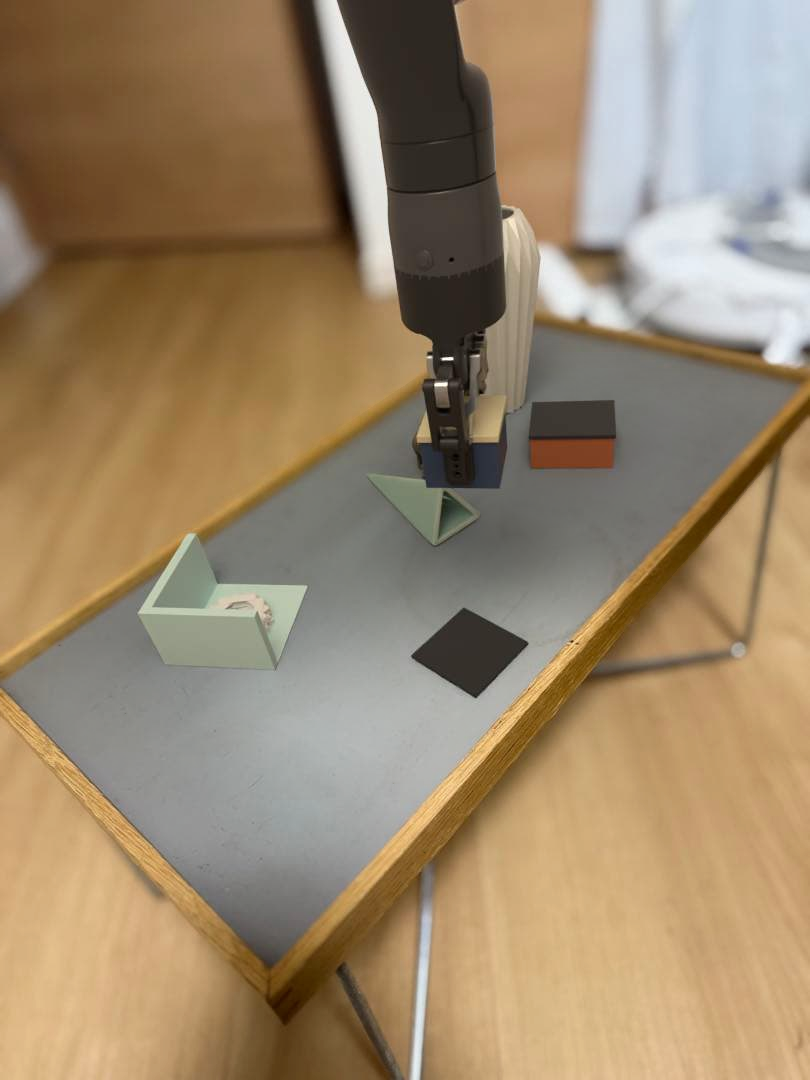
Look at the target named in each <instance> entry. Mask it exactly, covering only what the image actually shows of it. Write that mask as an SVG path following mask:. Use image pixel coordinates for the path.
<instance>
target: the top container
mask: <svg viewBox="0 0 810 1080" xmlns="http://www.w3.org/2000/svg"><path fill="white" fill-rule="evenodd" d="M469 398H470V396H463V399H464V403H466V402H467V401H468V400H469ZM506 403H507V395H485V396H479V409H478V411H477V412H476V413H474V414H473V416H472V434H473V435H474V440H473V441H472V447H473V458H474V470H475V478H474V482H473V483H472V484H471V485H450V484H448V483H447V481H446V476H445V468H444V459H443V452H441V451H440V452H434V451H433V447H432V445H431V435H430V429H429V423H428V416H427V410H426V409H425V412H424V415H423V417H422V420H421V423H420V426H419V429H418V430H417V432H418V434H417V443H420V448H421V455H422V462H423V469H424V476H425V478H424V480H425V483H426V488H450V489H480V490H481V489H482V490H483V489H484V490H485V489H486V490H488V489H489V490H498V489H501V484H502V479H503V473H504V467H505V462H506V458H507V452H508V435H507V434H508V433H507V417H506V416H507V414H506V412H505V408H506ZM447 430H457V429H456V428H455V427H447Z"/></svg>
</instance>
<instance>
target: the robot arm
mask: <svg viewBox="0 0 810 1080" xmlns="http://www.w3.org/2000/svg"><path fill="white" fill-rule="evenodd" d="M465 1H466V0H336V3H337V6H338V10H339V12H340V15H341V18H342V21H343V24H344V27H345V30H346V33H347V36H348V39H349V42H350V46H351V48H352V51H353V53H354V56H355V59H356V62H357V64H358V68H359V70H360V74H361V77H362V79H363V82H364V85H365V87H366V89H367V91H368V93H369V96H370V99H371V101H372V104H373V106H374V109H375V113H376V118H377V128H378V137H379V142H380V148H381V156H382V164H383V170H384V178H385V185H386V197H387V226H388V227H387V228H388V237H389V241H390V249H391V255H392V262H393V263H392V264H393V270H394V277H395V278H394V279H395V284H396V291H397V297H398V305H399V311H400V318H401V322H402V324H403V325H404V327H405V328H406V329H407V330H409V331H410V332H411V333H414V334H416V335H421V336H424V337H425V338H427V339H428V340H430V341H431V343H432V346H431V350H427V351H426V373H427V374H428V375H429V378H424V379H423V383H422V385H421V391H422V392H423V398H424V403H425V411H426V410H427V416H428V423H429V429H430V435H431V445H432V447H433V451H434V452H440V451H441V452H443V459H444V468H445V476H446V481H447V483H448V484H450V485H471V484H472V483H473V482H474V478H475V470H474V458H473V447H472V441H473V440H474V435H473V434H472V416H473V414H474V413H476V412H477V411H478V409H479V396H480V394H485V390H486V383H485V379H486V378H487V373H488V372H489V367H488V362H487V338H486V330H485V329H486V328H488V327H490V326H492V325H493V324H495V323H496V322H497V321H499V320H500V319H501V317H502V316H503V315H504V313H505V310H506V286H505V264H504V243H503V219H502V201H501V195H500V189H499V183H498V178H497V177H498V175H497V157H496V156H497V155H496V137H495V123H494V122H495V118H494V117H495V116H494V106H493V97H492V90H491V85H490V81H489V78H488V76H487V74H486V72H485V71H484V70H483V69H482V68H481V67H480V66H478V65H476V64H475V63H472V62H469V61H467V60H466V59H465V58H466V57H465V55H464V49H463V45H462V40H461V34H460V29H459V24H458V19H457V13H456V7H455V6H457V5H459V4H461V3H463V2H465ZM463 396H470V398H469V400H468V401H467V402H466V403H464V399H463ZM482 396H483V395H482ZM447 427H455V428H456V429H457V430H447Z"/></svg>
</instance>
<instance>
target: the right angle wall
mask: <svg viewBox="0 0 810 1080" xmlns="http://www.w3.org/2000/svg"><path fill="white" fill-rule="evenodd" d="M308 587H309V586H308V585H306V584H305V585H303V584H302V585H301V584H299V585H298V584H253V583H251V584H249V583H248V584H247V583H246V584H245V583H243V584H242V583H218V580H217V579H216V576H215V574H214V572H213V569H212V567H211V564H210V562H209V560H208V558H207V554H206V552H205V550H204V547H203V545H202V543H201V541H200V539H199V536H198V533H190V532H189V533H187V534H186V535H185V537H184V538H183V540H182V542H181V543H180V545H179V547H178V548H177V550H176V551H175V553H174V555H173V556H172V558H171V559H170V561H169V563H168V564H167V565H166V568H165V569H164V571H163V572H162V574H161V575H160V577H159V578H158V580H157V581H156V583H155V584H154V587H153V588H152V590H151V591H150V593H149V594H148V596H147V598H146V599H145V601H144V602H143V604H142V606H141V607H140V609H139V610H138V612H137V615H138V617H139V619H140V621H141V623H142V624H143V626H144V628H145V630H146V632H147V634H148V635H149V637H150V639H151V641H152V643H153V644H154V647H155V648H156V650H157V652H158V654H159V656H160V658H161V660H162V662H163V663H164V665H166V666H181V667H182V666H183V667H207V668H225V669H227V668H228V669H245V670H246V669H247V670H248V669H249V670H269V671H275V670H276V668H277V666H278V664H279V661H280V658H281V656H282V653H283V650H284V649H285V646H286V643H287V640H288V638H289V635H290V632H291V630H292V629H293V628H292V627H293V625H294V622H295V620H296V617H297V614H298V612H299V610H300V607H301V605H302V603H303V600H304V597H305V594H306V592H307V589H308Z"/></svg>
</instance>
